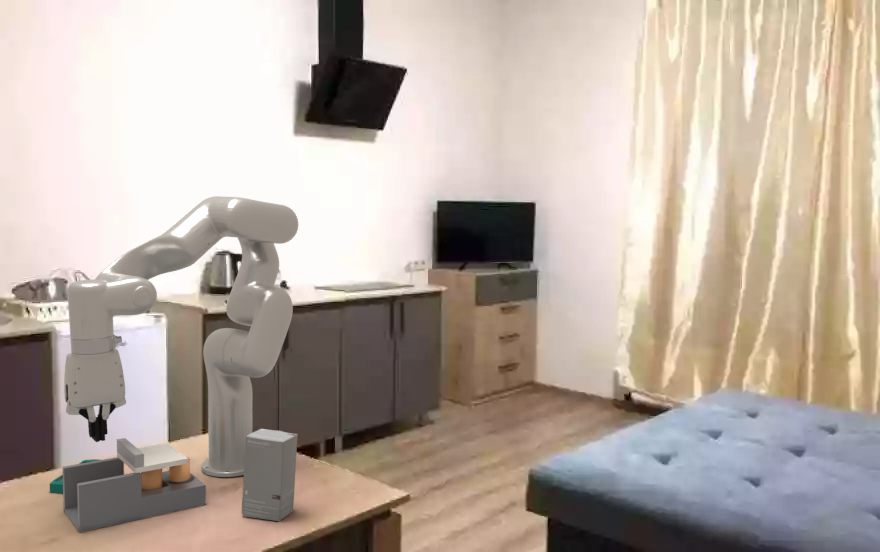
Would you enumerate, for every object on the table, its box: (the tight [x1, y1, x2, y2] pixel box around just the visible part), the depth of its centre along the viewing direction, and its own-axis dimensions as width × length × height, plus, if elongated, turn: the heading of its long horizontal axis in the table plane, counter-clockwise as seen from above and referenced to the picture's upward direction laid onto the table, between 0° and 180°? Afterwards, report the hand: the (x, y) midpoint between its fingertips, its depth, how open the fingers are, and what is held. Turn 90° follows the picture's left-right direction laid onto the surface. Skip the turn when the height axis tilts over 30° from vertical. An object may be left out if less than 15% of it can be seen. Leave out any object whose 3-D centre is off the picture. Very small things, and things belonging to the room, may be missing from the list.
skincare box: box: [241, 428, 298, 522], centre depth 156 cm, size 8×7×16 cm
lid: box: [116, 437, 188, 473], centre depth 159 cm, size 10×12×4 cm
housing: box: [62, 456, 207, 533], centre depth 157 cm, size 24×12×9 cm, turn 128°
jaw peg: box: [140, 468, 163, 491], centre depth 159 cm, size 4×4×8 cm
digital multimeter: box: [49, 458, 99, 494], centre depth 171 cm, size 7×15×3 cm, turn 177°
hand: (98, 439), depth 155 cm, fingers closed
